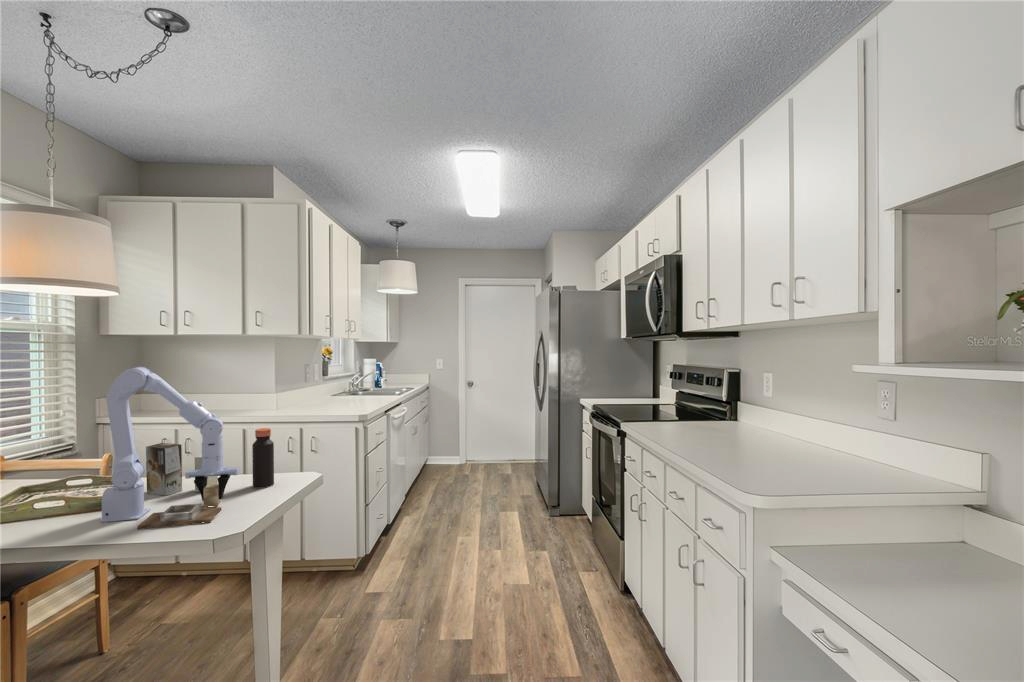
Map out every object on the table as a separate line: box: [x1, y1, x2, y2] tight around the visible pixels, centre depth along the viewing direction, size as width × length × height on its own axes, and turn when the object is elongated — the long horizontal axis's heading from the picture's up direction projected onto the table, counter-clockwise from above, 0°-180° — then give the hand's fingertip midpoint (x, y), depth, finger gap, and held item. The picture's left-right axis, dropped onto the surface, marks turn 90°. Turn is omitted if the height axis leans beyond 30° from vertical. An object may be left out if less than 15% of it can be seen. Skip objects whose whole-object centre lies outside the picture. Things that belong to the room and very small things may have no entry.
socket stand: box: [137, 502, 222, 530], centre depth 145 cm, size 18×10×3 cm, turn 105°
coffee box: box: [145, 442, 183, 497], centre depth 169 cm, size 9×6×16 cm
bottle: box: [251, 427, 275, 488], centre depth 177 cm, size 7×7×20 cm
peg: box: [203, 484, 223, 508], centre depth 157 cm, size 4×4×6 cm
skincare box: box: [194, 454, 219, 493], centre depth 172 cm, size 6×4×12 cm
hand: (212, 499), depth 157 cm, fingers closed on peg, 4 cm apart
